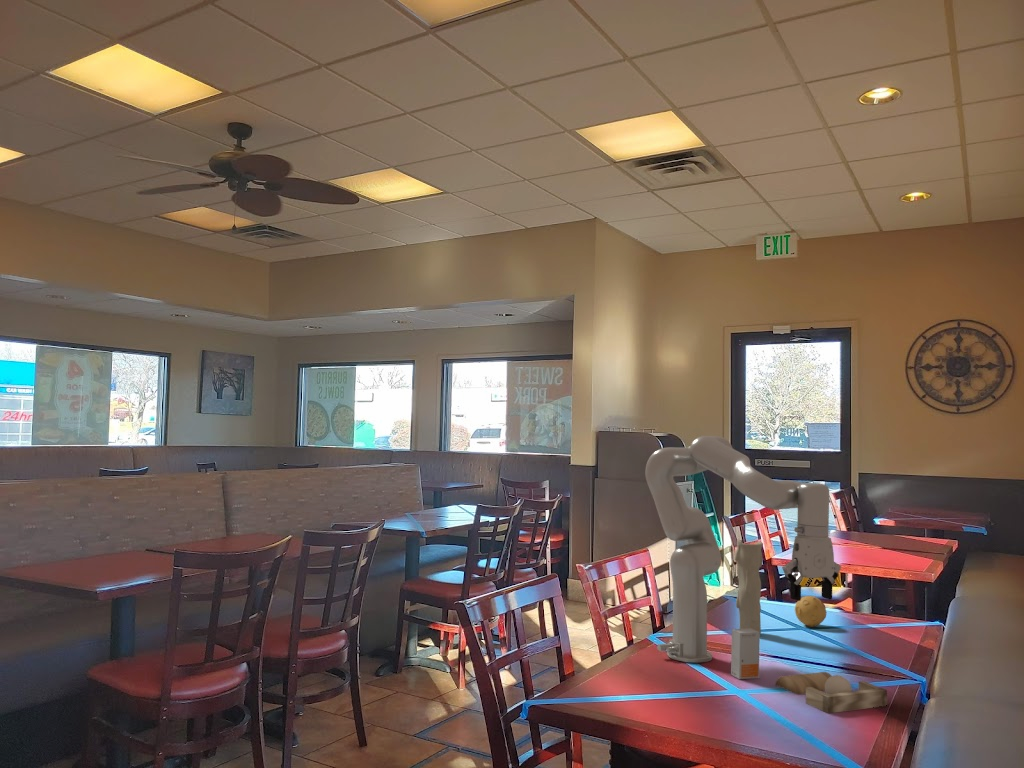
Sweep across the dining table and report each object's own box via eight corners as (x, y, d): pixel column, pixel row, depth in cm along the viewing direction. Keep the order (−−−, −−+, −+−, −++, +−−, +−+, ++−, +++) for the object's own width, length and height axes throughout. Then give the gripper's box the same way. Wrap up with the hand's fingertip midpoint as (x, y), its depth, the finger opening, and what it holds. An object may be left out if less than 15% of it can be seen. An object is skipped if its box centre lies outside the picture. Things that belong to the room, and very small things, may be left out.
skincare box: (739, 680, 201) (739, 632, 202) (730, 675, 205) (730, 628, 206) (760, 678, 203) (760, 631, 204) (750, 673, 207) (751, 627, 208)
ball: (817, 674, 189) (820, 701, 188) (835, 678, 183) (838, 705, 182) (837, 672, 191) (840, 698, 190) (855, 675, 185) (859, 702, 184)
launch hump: (796, 715, 190) (796, 681, 191) (775, 704, 198) (775, 672, 198) (838, 709, 195) (838, 677, 195) (816, 699, 202) (816, 668, 203)
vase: (732, 634, 248) (732, 539, 250) (738, 629, 256) (739, 536, 258) (759, 638, 244) (759, 541, 246) (765, 632, 251) (765, 539, 253)
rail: (827, 713, 178) (827, 697, 178) (805, 702, 184) (805, 687, 185) (887, 705, 184) (887, 690, 184) (863, 696, 191) (863, 681, 191)
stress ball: (797, 624, 268) (784, 608, 263) (813, 602, 270) (800, 585, 266) (820, 636, 259) (807, 619, 255) (836, 613, 261) (823, 596, 257)
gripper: (794, 534, 193) (792, 603, 193) (850, 533, 199) (849, 601, 198) (775, 529, 201) (773, 596, 200) (829, 529, 206) (828, 594, 205)
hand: (811, 598), depth 199 cm, fingers open, 9 cm apart
